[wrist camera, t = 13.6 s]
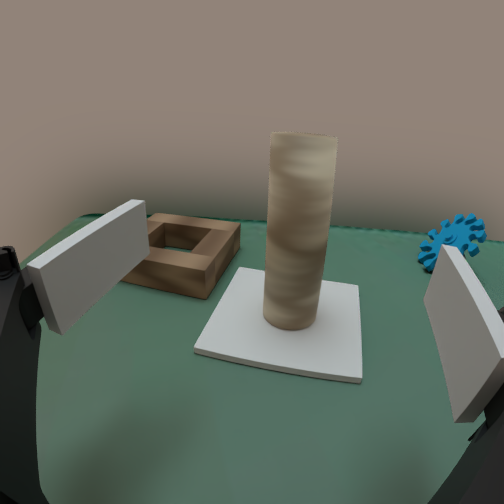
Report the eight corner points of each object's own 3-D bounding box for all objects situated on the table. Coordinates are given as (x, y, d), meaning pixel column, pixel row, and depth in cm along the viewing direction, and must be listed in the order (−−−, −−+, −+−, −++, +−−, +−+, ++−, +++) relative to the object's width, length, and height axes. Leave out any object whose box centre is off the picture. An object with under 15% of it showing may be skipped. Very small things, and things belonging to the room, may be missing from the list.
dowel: (318, 302, 27) (337, 136, 21) (313, 333, 23) (338, 140, 17) (268, 294, 28) (277, 130, 22) (257, 324, 24) (264, 134, 18)
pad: (356, 290, 30) (357, 285, 30) (359, 383, 19) (362, 377, 19) (239, 272, 32) (239, 266, 32) (194, 352, 22) (193, 347, 22)
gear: (412, 233, 40) (470, 199, 34) (430, 263, 41) (486, 232, 35) (419, 283, 31) (495, 242, 25) (439, 316, 32) (509, 280, 26)
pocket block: (239, 246, 37) (240, 223, 36) (206, 299, 28) (204, 270, 26) (157, 234, 39) (156, 212, 38) (108, 277, 30) (103, 251, 29)
